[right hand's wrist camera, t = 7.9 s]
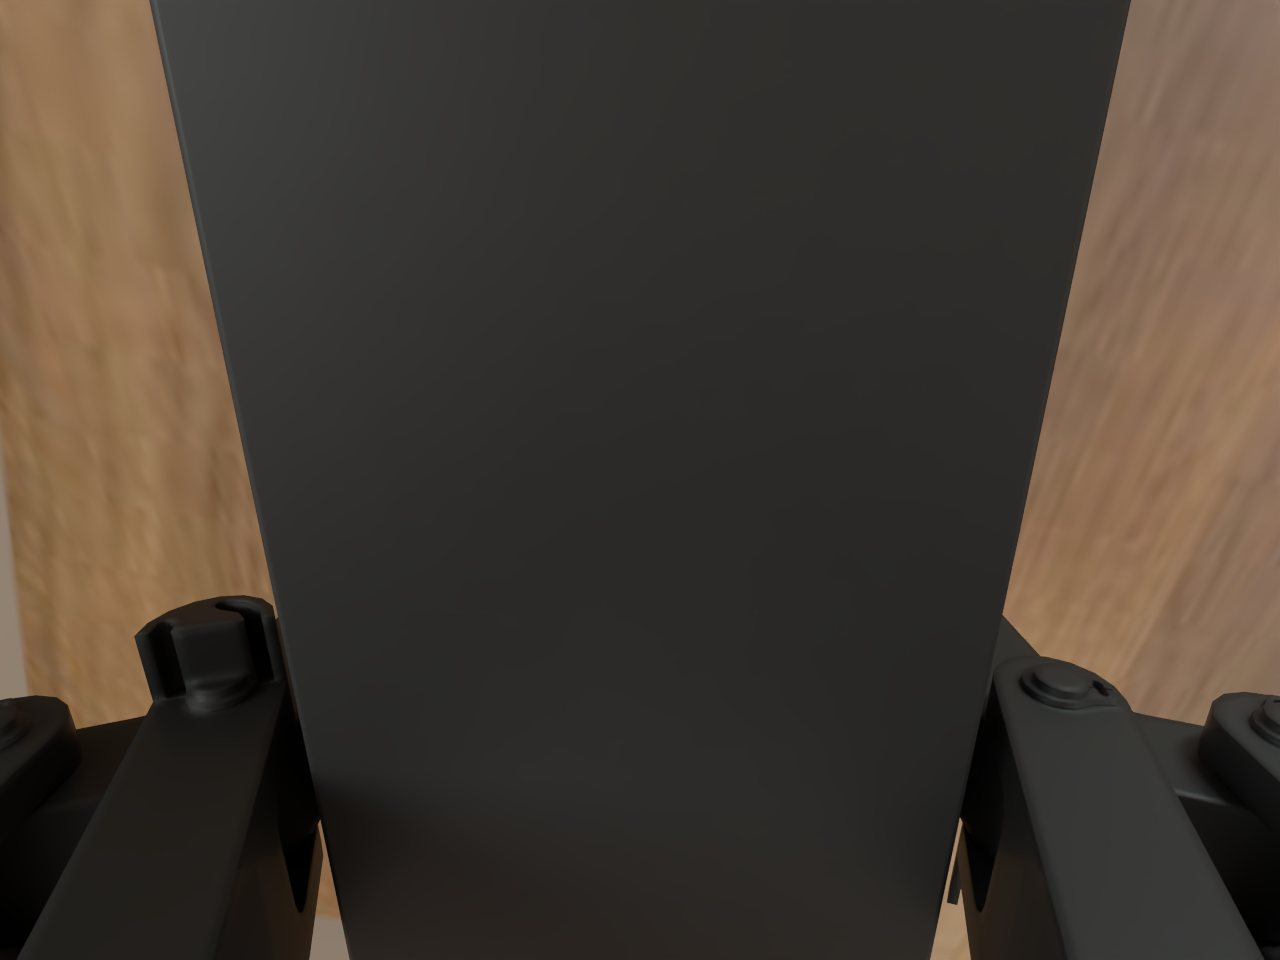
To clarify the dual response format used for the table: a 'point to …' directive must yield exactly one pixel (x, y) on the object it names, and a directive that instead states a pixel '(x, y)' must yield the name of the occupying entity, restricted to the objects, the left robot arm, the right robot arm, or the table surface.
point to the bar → (639, 438)
